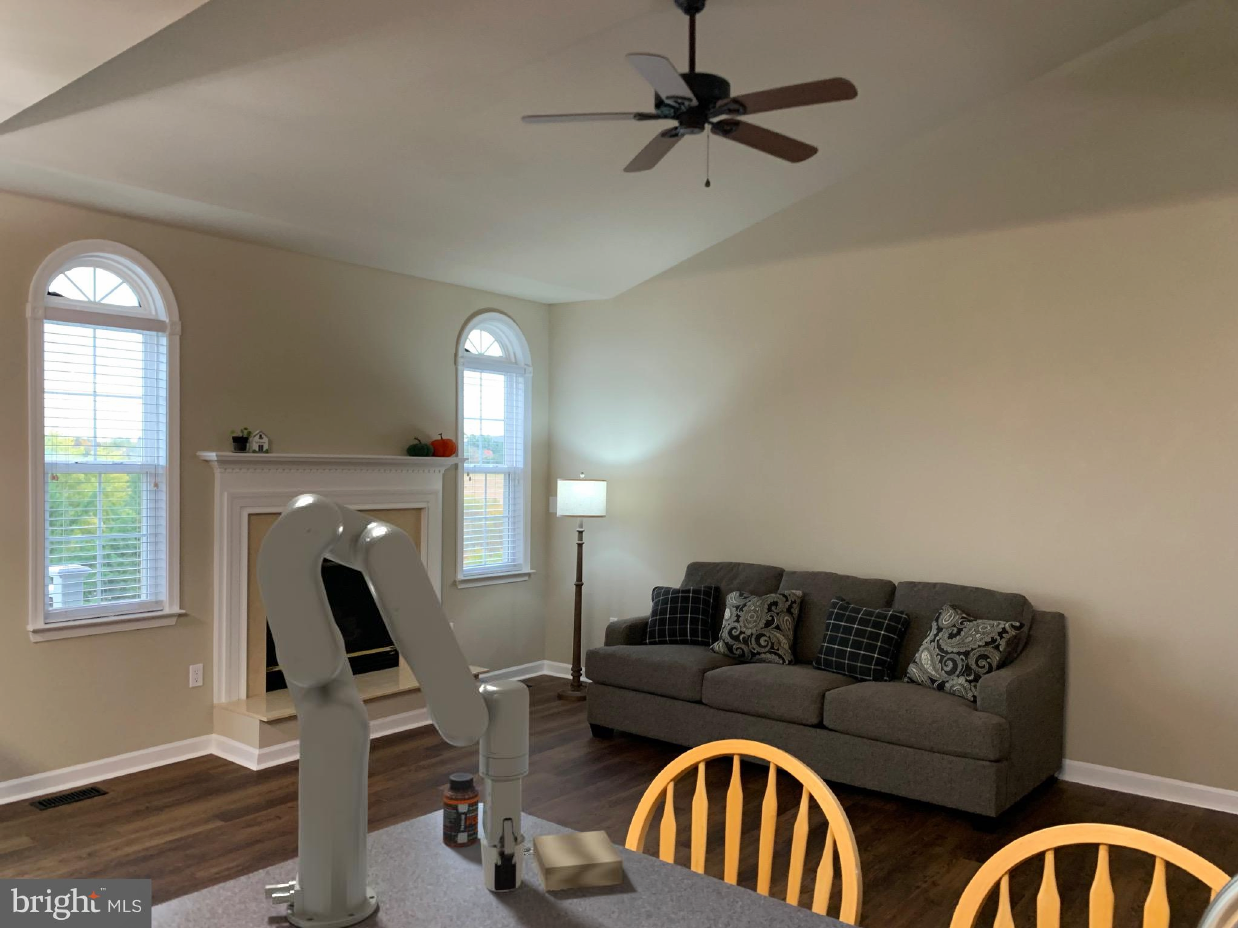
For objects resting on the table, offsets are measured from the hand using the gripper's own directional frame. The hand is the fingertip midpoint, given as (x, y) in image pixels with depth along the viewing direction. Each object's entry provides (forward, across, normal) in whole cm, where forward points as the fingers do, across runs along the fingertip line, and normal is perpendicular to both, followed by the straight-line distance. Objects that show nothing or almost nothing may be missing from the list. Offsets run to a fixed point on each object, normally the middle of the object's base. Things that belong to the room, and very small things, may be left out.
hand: (502, 878), depth 145 cm
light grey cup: (+1, 0, 0) cm, 1 cm away
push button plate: (+1, -11, +5) cm, 12 cm away
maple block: (+1, -2, +12) cm, 12 cm away
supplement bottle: (+1, -17, -5) cm, 18 cm away
